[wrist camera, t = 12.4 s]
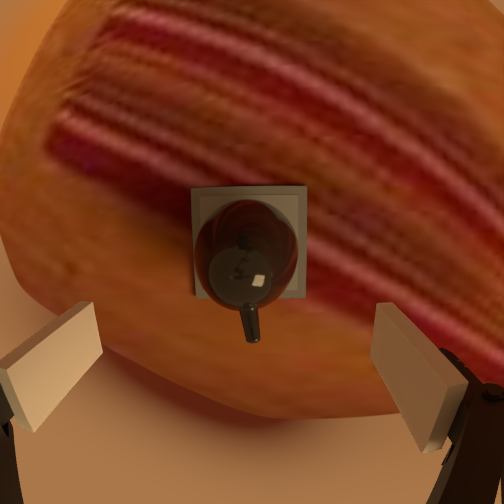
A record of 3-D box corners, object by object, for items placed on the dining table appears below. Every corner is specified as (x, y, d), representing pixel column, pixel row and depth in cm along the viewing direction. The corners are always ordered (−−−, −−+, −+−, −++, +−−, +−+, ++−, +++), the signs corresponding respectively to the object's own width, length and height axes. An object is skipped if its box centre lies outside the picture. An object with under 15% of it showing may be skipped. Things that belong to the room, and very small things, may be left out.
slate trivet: (191, 188, 36) (190, 188, 35) (306, 185, 35) (307, 185, 35) (197, 296, 38) (196, 298, 38) (304, 296, 38) (305, 298, 37)
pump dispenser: (214, 293, 38) (186, 359, 23) (196, 206, 36) (150, 221, 21) (300, 279, 37) (323, 339, 22) (286, 190, 35) (303, 192, 20)
